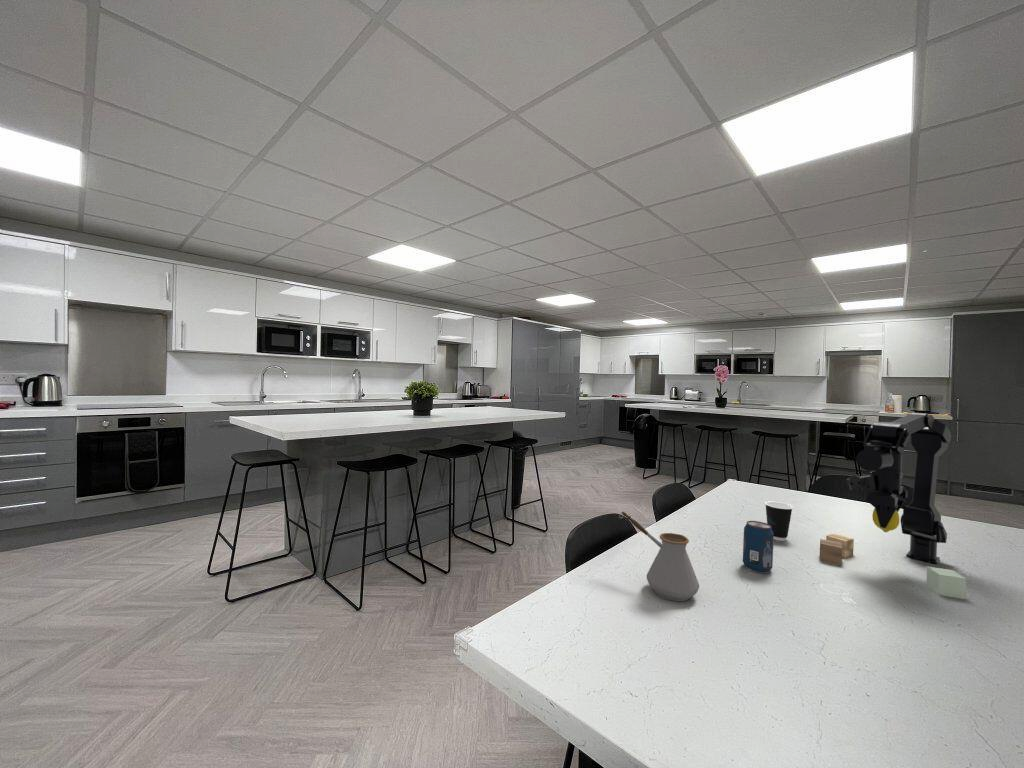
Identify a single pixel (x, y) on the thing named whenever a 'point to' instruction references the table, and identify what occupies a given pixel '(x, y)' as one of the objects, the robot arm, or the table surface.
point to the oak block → (843, 543)
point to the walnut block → (831, 552)
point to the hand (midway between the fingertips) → (885, 525)
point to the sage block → (946, 582)
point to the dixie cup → (778, 519)
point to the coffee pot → (670, 566)
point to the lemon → (891, 525)
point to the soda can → (758, 546)
